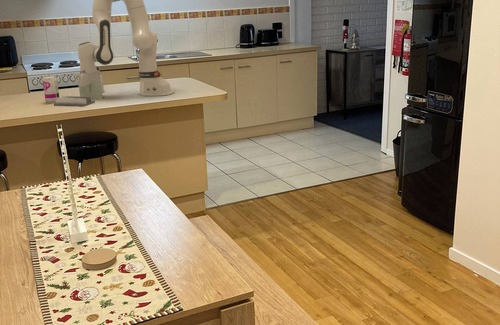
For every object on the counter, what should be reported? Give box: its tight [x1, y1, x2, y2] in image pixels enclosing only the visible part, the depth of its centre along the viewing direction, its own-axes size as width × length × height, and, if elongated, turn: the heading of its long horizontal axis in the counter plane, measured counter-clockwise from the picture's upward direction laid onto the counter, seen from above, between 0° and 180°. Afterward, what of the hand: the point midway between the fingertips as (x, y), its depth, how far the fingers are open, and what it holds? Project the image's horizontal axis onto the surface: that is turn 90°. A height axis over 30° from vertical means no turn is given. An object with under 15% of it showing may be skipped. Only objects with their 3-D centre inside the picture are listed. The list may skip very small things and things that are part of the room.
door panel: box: [78, 82, 104, 100], centre depth 333 cm, size 14×3×10 cm, turn 73°
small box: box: [100, 75, 105, 93], centre depth 353 cm, size 8×6×10 cm
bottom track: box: [53, 95, 96, 107], centre depth 318 cm, size 20×12×4 cm, turn 73°
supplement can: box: [42, 76, 60, 104], centre depth 325 cm, size 8×8×15 cm
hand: (90, 91), depth 333 cm, fingers closed on door panel, 3 cm apart
